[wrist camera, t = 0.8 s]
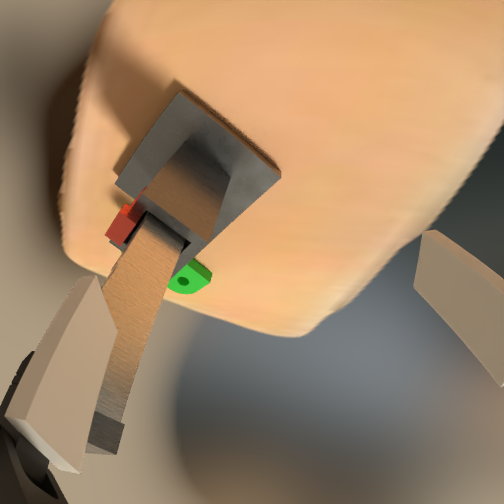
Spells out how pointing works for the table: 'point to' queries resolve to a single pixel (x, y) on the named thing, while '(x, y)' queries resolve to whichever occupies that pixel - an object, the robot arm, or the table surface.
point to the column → (131, 321)
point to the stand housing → (190, 177)
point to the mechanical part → (190, 278)
